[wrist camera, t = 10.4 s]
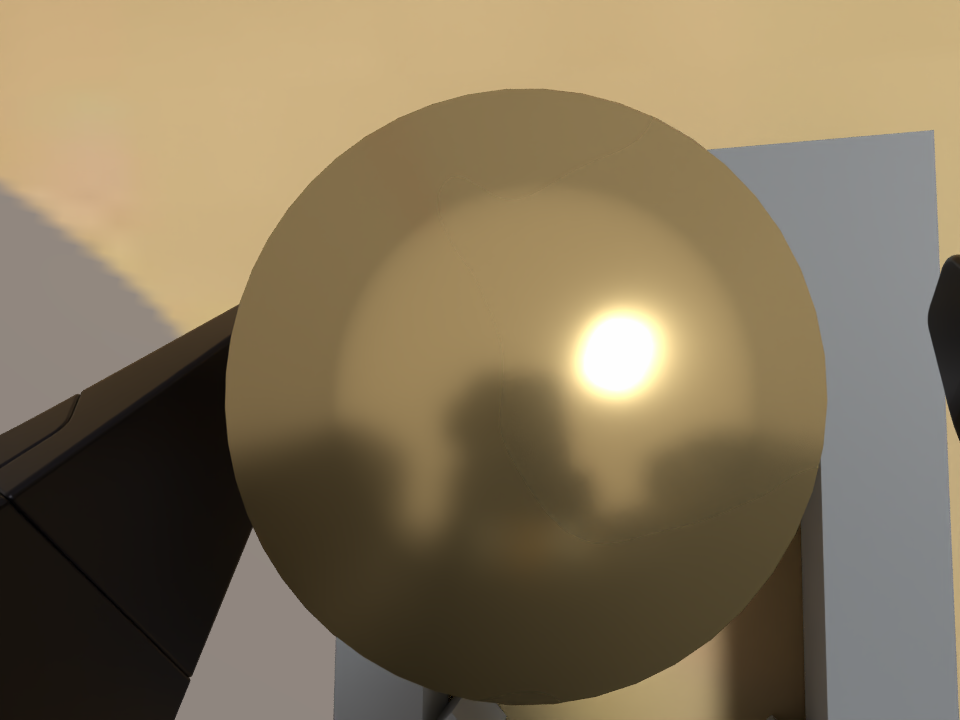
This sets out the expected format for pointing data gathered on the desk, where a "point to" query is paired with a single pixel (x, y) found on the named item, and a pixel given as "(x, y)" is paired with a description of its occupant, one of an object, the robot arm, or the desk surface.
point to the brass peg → (526, 396)
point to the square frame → (835, 443)
